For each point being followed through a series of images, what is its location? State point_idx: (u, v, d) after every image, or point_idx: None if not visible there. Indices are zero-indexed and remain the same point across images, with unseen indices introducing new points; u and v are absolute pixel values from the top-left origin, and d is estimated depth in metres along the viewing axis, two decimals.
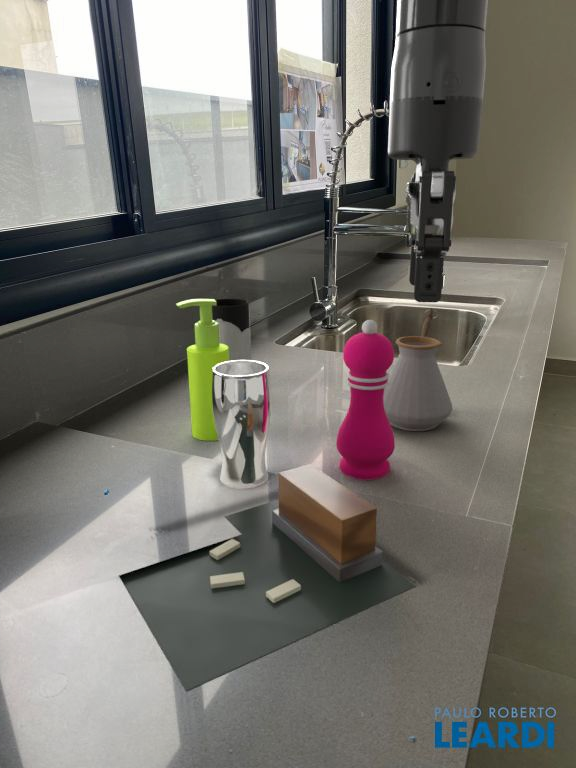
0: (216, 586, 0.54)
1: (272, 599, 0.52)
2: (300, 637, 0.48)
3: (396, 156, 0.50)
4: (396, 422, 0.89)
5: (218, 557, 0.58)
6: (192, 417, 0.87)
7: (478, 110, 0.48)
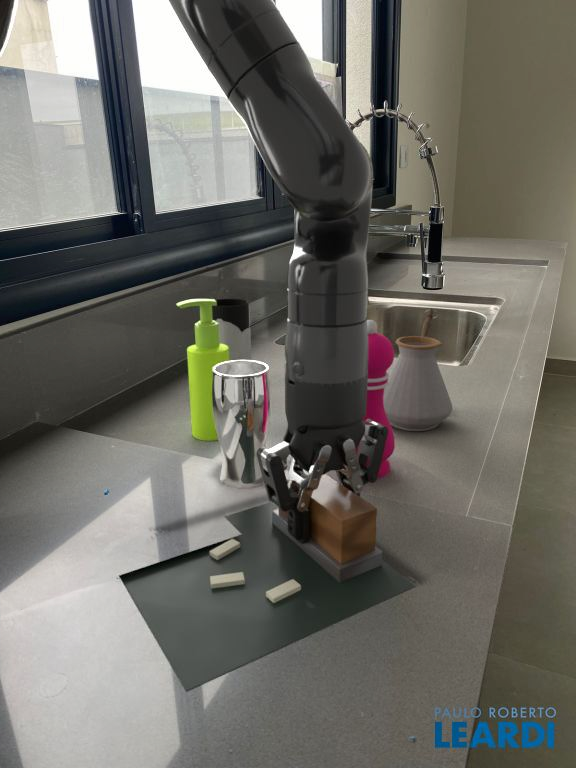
0: (216, 586, 0.54)
1: (272, 599, 0.52)
2: (300, 637, 0.48)
3: None
4: (396, 422, 0.89)
5: (218, 557, 0.58)
6: (192, 417, 0.87)
7: (330, 393, 0.51)
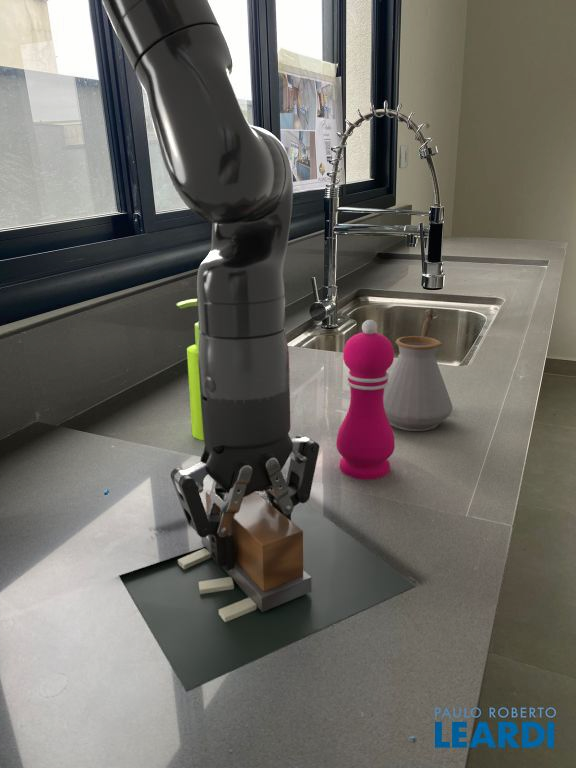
0: (205, 592, 0.53)
1: (223, 618, 0.50)
2: (300, 637, 0.48)
3: None
4: (396, 422, 0.89)
5: (185, 566, 0.56)
6: (192, 417, 0.87)
7: (244, 410, 0.47)
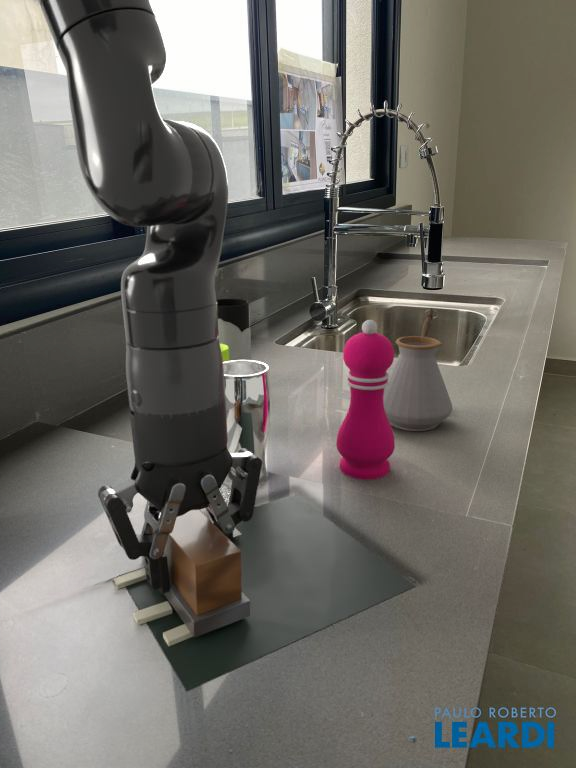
0: (142, 621, 0.49)
1: (167, 642, 0.47)
2: (300, 637, 0.48)
3: None
4: (396, 422, 0.89)
5: (118, 586, 0.54)
6: None
7: (172, 426, 0.44)
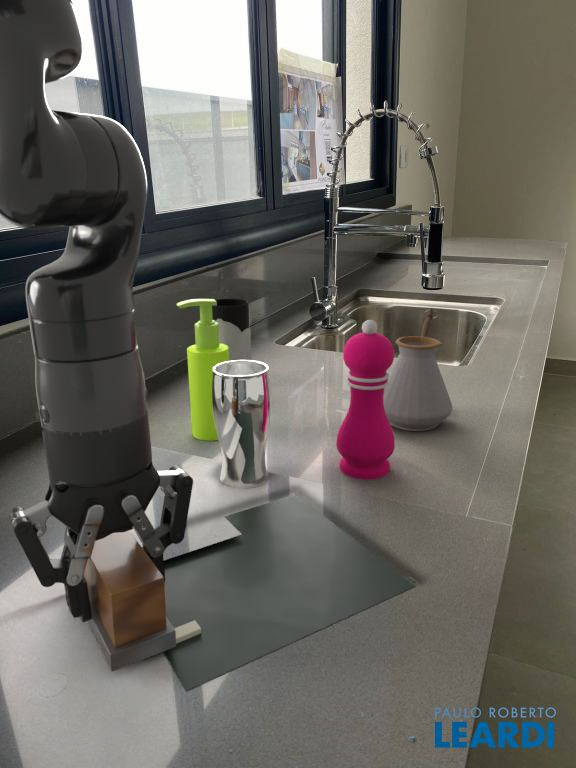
0: None
1: None
2: (300, 637, 0.48)
3: None
4: (396, 422, 0.89)
5: None
6: (192, 417, 0.87)
7: (82, 444, 0.41)
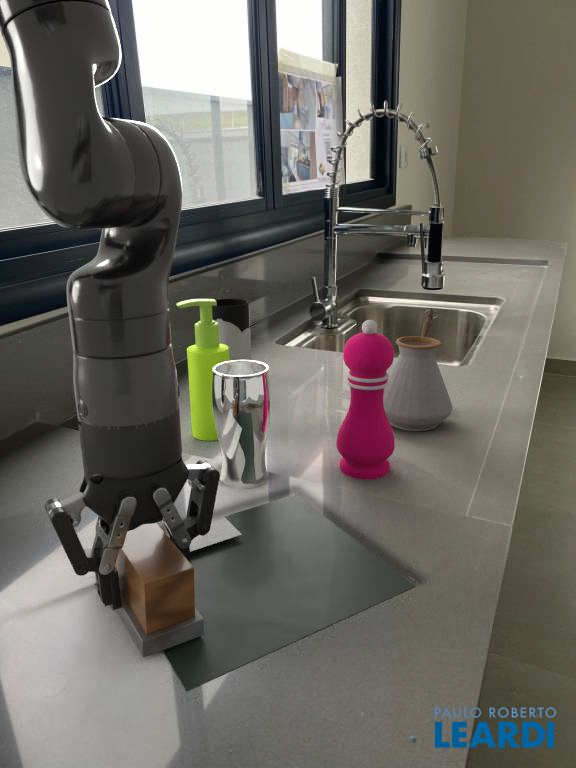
0: None
1: None
2: (300, 637, 0.48)
3: None
4: (396, 422, 0.89)
5: None
6: (192, 417, 0.87)
7: (119, 438, 0.43)
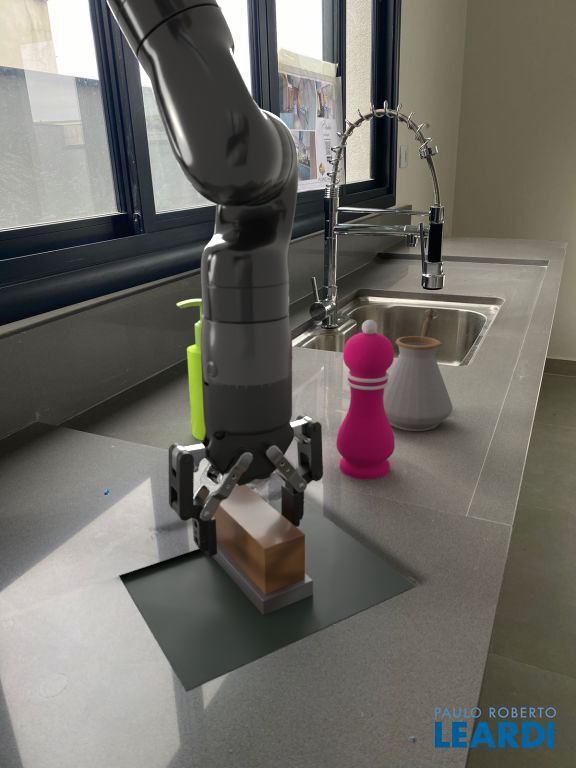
0: None
1: None
2: (300, 637, 0.48)
3: None
4: (396, 422, 0.89)
5: None
6: (192, 417, 0.87)
7: (246, 396, 0.47)
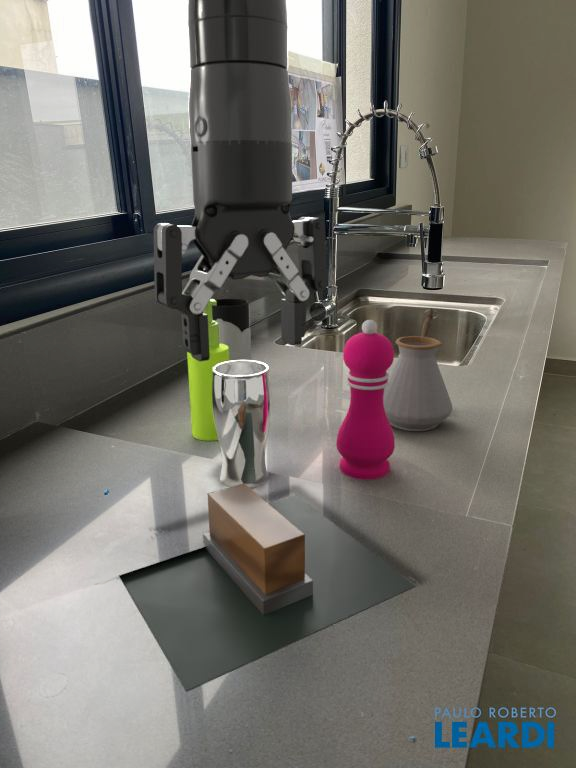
0: None
1: None
2: (300, 637, 0.48)
3: None
4: (396, 422, 0.89)
5: None
6: (192, 417, 0.87)
7: (240, 154, 0.41)
